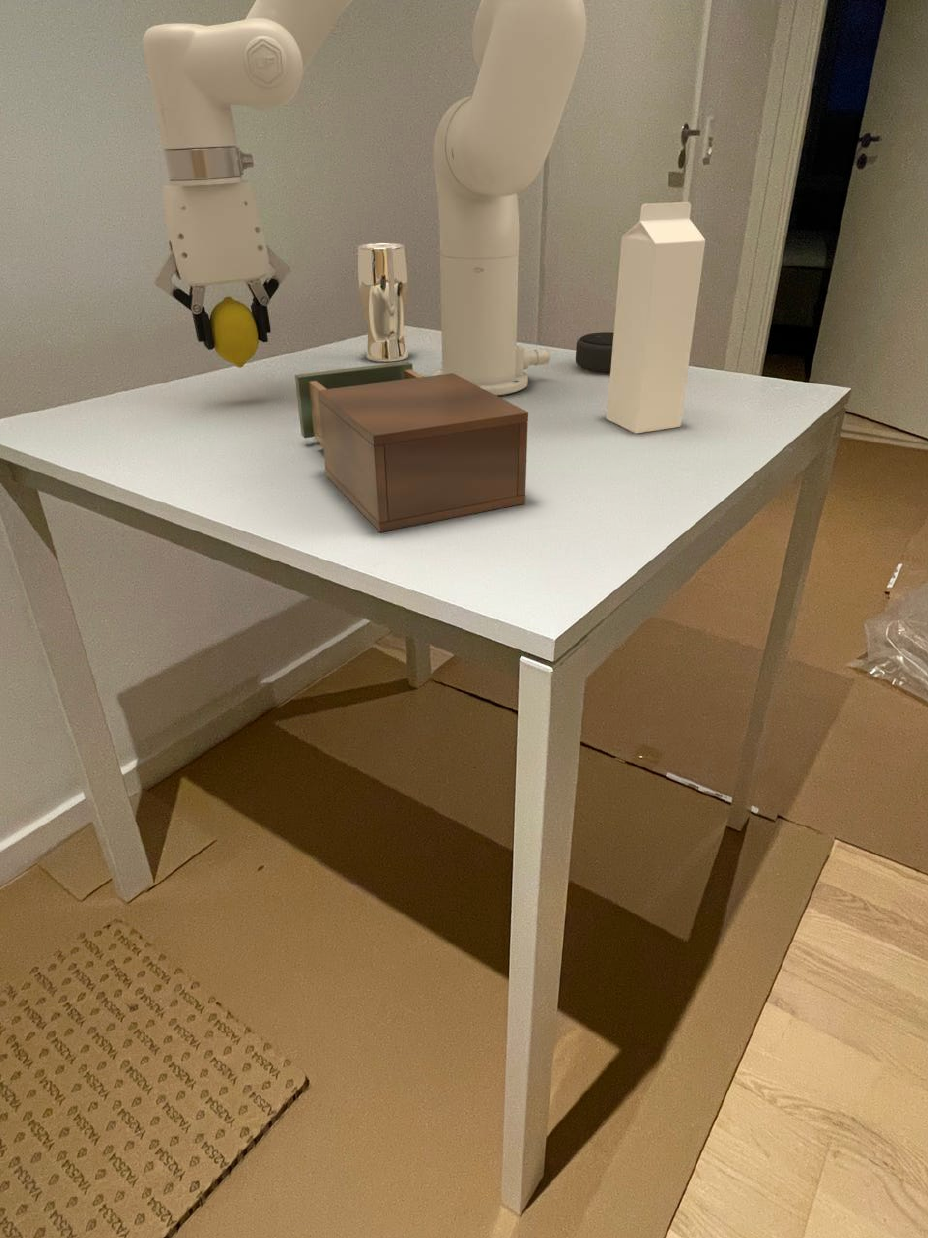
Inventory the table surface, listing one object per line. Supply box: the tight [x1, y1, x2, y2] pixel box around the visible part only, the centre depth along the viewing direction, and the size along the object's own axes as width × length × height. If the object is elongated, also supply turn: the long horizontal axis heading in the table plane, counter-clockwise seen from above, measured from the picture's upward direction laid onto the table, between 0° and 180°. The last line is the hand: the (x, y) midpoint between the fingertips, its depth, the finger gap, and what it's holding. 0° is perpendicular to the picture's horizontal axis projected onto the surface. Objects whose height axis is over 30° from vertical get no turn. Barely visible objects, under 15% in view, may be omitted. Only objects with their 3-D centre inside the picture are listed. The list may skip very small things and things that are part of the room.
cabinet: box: [318, 373, 529, 533], centre depth 72 cm, size 15×14×8 cm
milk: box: [606, 201, 706, 435], centre depth 85 cm, size 6×6×22 cm
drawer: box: [294, 361, 425, 447], centre depth 83 cm, size 21×12×6 cm, turn 26°
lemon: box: [209, 296, 260, 369], centre depth 95 cm, size 6×6×8 cm
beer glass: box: [357, 242, 409, 363], centre depth 115 cm, size 7×7×15 cm
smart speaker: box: [575, 331, 614, 375], centre depth 112 cm, size 9×9×4 cm
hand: (235, 342), depth 95 cm, fingers closed on lemon, 5 cm apart
